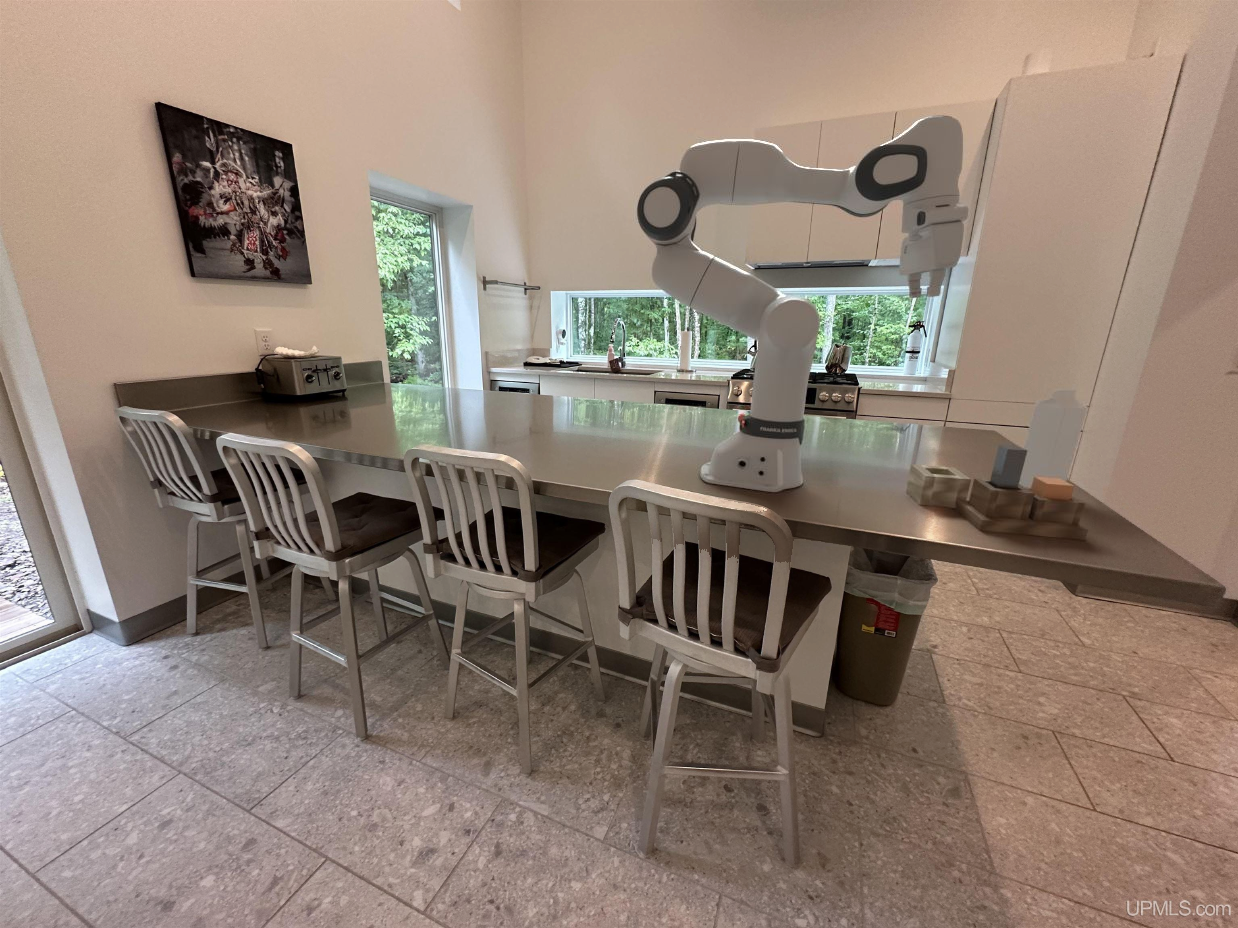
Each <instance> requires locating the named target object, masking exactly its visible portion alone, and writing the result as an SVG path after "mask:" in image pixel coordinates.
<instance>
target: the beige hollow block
mask: <svg viewBox="0 0 1238 928" xmlns="http://www.w3.org/2000/svg"><path fill="white" fill-rule="evenodd" d="M971 483H972V479H971V478H970V477H969V476H967V475H966V474H964V473H962V471H960V470H958V469H957V468H956V467H951V466H939V465H925V464H924V465H923V464H911V465H910V470H909V475H908V480H907V485H906V489H905V492H906V493H907V494H908V495H909V496H910V497H911V498H912V499H913V500H914V501H915V502H916V503H917V504H918V505H919V506H928V507H931V506H932V507H940V508H954V509H955V508H956V504H957V500H966V501H968V499H967V498H968V495H969V490H970V485H971Z"/></svg>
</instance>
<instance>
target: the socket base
mask: <svg viewBox="0 0 1238 928" xmlns="http://www.w3.org/2000/svg"><path fill="white" fill-rule="evenodd" d="M1030 490H1031V488H1028V487H1023V486H1021V485H1020V484H1019V485H1018V489H1017V490H1010V489H997V488H995V487H993V486H992V485H990V479H987V478H976V477H975V478H973V481H972V486H971V491H970V495H969V499H968V500H957V504H956V508H954V509H955V511H956V512H957V513H959V514H960V515H961V516H962V517H963V518H964V519H965V520H967V521H968V522H969V523H970V524H971V525H973V527H975V528H976V529H977V530H979V531H981V532H982V531H983V532H993V533H1003V534H1016V535H1024V536H1037V537H1047V538H1056V539H1057V538H1058V539H1069V540H1070V539H1071V540H1079V541H1080V540H1081V541H1082V540H1083V541H1085V540H1086V539H1087V536H1088V532H1089V530H1090V529H1089V528H1088V527H1086V526H1084V525H1083V524H1080V520H1081V518H1082V514H1083V511H1084V509H1085V505H1086V503H1085V502H1084V501H1082V500H1080V499H1078V498H1076V497H1074V496H1072V495H1071V499H1070V500H1061V499H1048V498H1041V497H1040V496H1038V495H1036V494H1035V493H1033V492H1032V491H1030Z"/></svg>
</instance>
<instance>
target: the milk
mask: <svg viewBox="0 0 1238 928" xmlns="http://www.w3.org/2000/svg"><path fill="white" fill-rule="evenodd" d="M1076 393H1077V390H1076V389H1055V390H1053V393H1052V396H1051V397H1050V398H1045V399H1043V400H1041V401H1038V402H1036V403H1035V404H1034V407H1033V411H1032V415H1031V419H1030V422H1029V426H1028V430H1027V433H1026V436H1025V437H1026V439H1025V442H1024V445H1023V449H1025V450H1028V451H1027V455H1026V458H1025V462H1024V466H1023V470H1022V473H1021V477H1020V481H1019V484H1020V485H1021V486H1023V487H1028V488H1031V487H1032V483H1033V479H1034V477H1045V478H1059V479H1062V480H1064V481H1066V482H1067V480H1068V476H1069V473H1070V470H1071V466H1072V463H1073V459H1074V456H1075V453H1076V448H1077V446H1078V442H1079V438H1080V435H1081V432H1082V429H1083V428H1082V427H1083V425H1084V422H1085V418H1086V416H1087V411H1088V407H1087V405H1085V404H1083V402H1081V401H1080V400H1079V399H1077V398H1076Z"/></svg>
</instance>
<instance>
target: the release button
mask: <svg viewBox="0 0 1238 928" xmlns="http://www.w3.org/2000/svg"><path fill="white" fill-rule="evenodd" d="M1074 489H1075V485H1073V484H1071V483H1069V482H1068V481H1067V480H1066V481H1064V480H1062V479H1059V478H1045V477H1034V479H1033V483H1032V487H1031V490H1030V491H1032V492H1033V493H1035V494H1036V495H1038V496H1040V497H1041V498H1048V499H1061V500H1070V499H1071V496H1072V494H1073V491H1074Z"/></svg>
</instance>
